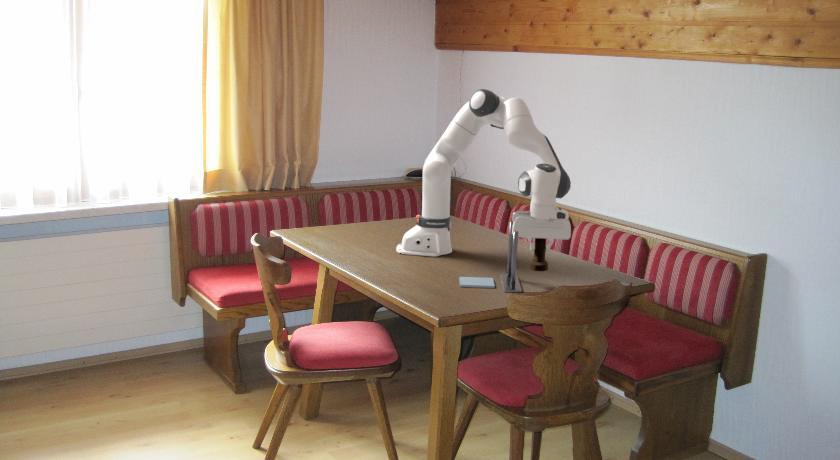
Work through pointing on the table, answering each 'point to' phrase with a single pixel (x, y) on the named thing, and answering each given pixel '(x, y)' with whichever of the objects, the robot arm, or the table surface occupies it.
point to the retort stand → (511, 265)
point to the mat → (476, 282)
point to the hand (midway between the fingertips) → (539, 250)
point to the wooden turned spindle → (539, 256)
